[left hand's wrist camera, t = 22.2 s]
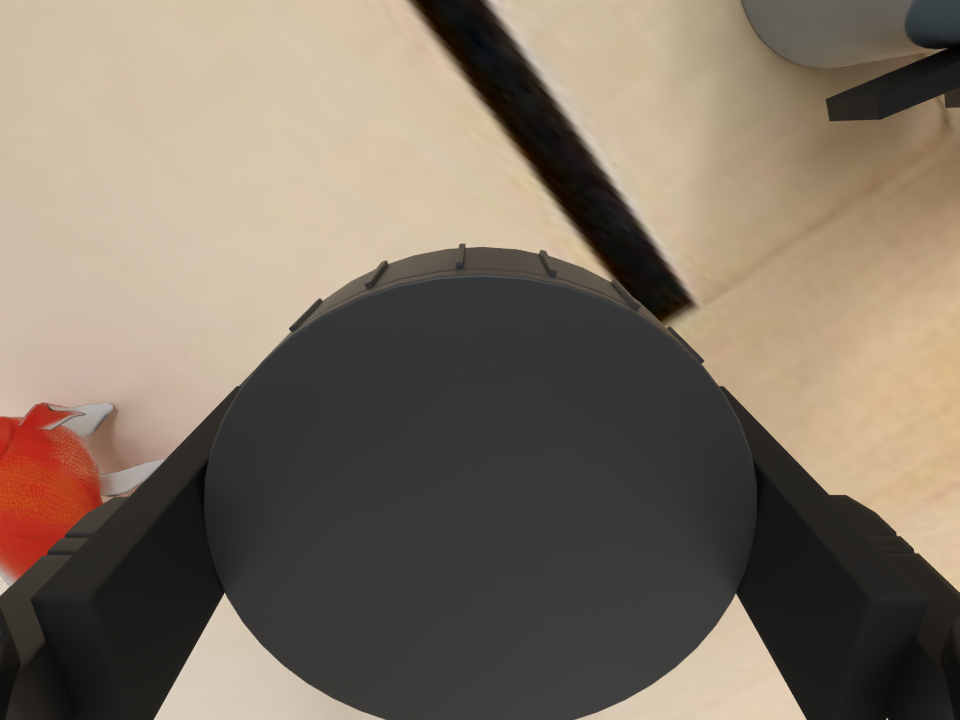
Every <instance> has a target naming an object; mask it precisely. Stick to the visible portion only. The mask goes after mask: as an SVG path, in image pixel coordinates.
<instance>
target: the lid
mask: <svg viewBox="0 0 960 720" xmlns="http://www.w3.org/2000/svg"><path fill="white" fill-rule="evenodd" d="M289 330H290V331H291V332H290V333H289V334H288V335H287V337H286V338H285V339H284V340H283V341H282V342H281V343H280V344H279V345H278V346H277V347H276V348H275V349H274V350H273V351H272V352H271V353H270V354H269V355H268V356H267V357H266V358H265V359H264V360H263V361H262V362H261V364H260V365H259V366H258V367H257V368H256V369H255V370H254V371H253V372H252V373H251V374H250V375H249V376H248V377H247V379H246V380H245V381H244V382H243V383H242V384H241V385H240V386H239V388H238V389H237V390H238V393H237V395H236V397H235V398H234V400H233V402H232V404H231V405H230V407H229V409H228V411H227V412H226V414H225V416H224V417H223V419H222V422H221V425H220V427H219V430H218V432H217V435H216V438H215V440H214V443H213V446H212V448H211V452H210V457H209V462H208V467H207V472H206V477H205V486H204V520H205V529H206V535H207V541H208V545H209V550H210V554H211V557H212V561H213V565H214V568H215V571H216V573H217V576H218V578H219V580H220V582H221V585H222V587H223V589H224V591H225V593H226V596H227V598H228V599H229V601H230V603H231V604H232V606H233V607H234V609H235V610H236V612H237V614H238V615H239V617H240V618H241V620H242V622H243V623H244V624H245V625H246V627H247V628H248V629H249V630H250V631H251V633H252V634H253V635H254V636H255V637H256V639H257V640H258V641H259V642H260V644H261V645H262V646H263V647H264V648H265V649H267V650H268V651H269V652H270V653H271V654H272V655H273V656H274V657H275V658H276V659H277V660H278V661H279V662H280V663H281V664H282V665H284V666H285V667H286V668H288V669H289V670H290V671H292V672H293V673H294V674H296V675H297V676H298V677H300V678H301V679H302V680H304V681H305V682H306V683H308V684H309V685H311V686H313V687H315V688H316V689H318V690H320V691H321V692H323V693H325V694H326V695H328V696H330V697H331V698H333V699H335V700H338V701H340V702H342V703H344V704H346V705H349V706H351V707H353V708H355V709H357V710H359V711H362V712H365V713H368V714H371V715H374V716H377V717H380V718H383V719H385V720H575V719H578V718H582V717H585V716H588V715H591V714H594V713H597V712H599V711H601V710H604V709H606V708H608V707H610V706H613V705H615V704H617V703H619V702H622V701H624V700H626V699H628V698H629V697H631V696H633V695H635V694H636V693H638V692H640V691H642V690H643V689H645V688H647V687H649V686H650V685H652V684H653V683H655V682H656V681H657V680H659V679H660V678H662V677H663V676H664V675H666V674H667V673H668V672H670V671H671V670H673V669H674V668H675V667H676V666H678V665H679V664H680V663H681V662H682V661H683V660H684V659H685V658H686V657H687V656H688V655H690V654H691V653H692V652H693V651H694V650H695V649H696V648H697V647H698V646H699V645H700V644H701V642H702V641H703V640H704V639H705V638H706V637H707V635H708V634H709V633H710V632H711V631H712V630H713V628H714V627H715V626H716V625H717V623H718V622H719V620H720V619H721V617H722V616H723V614H724V612H725V611H726V609H727V608H728V606H729V605H730V603H731V602H732V600H733V598H734V596H735V594H736V592H737V589H738V587H739V585H740V583H741V581H742V579H743V577H744V575H745V572H746V568H747V565H748V561H749V557H750V553H751V549H752V544H753V539H754V534H755V529H756V523H757V516H758V514H757V482H756V476H755V471H754V465H753V460H752V454H751V451H750V448H749V446H748V443H747V440H746V437H745V434H744V431H743V429H742V426H741V423H740V421H739V419H738V418H737V416H736V414H735V412H734V410H733V408H732V407H731V405H730V403H729V401H728V399H727V398H726V396H725V394H724V392H723V391H722V390H721V389H720V387H719V386H718V385H717V383H716V382H715V381H714V380H713V378H712V377H711V376H710V374H709V373H708V372H707V371H706V369H705V368H704V367H703V365H702V364H701V363H703V362H704V360H703V359H702V358H701V357H700V356H699V355H698V354H697V353H696V352H695V351H694V350H693V349H692V348H691V347H690V346H689V345H688V344H687V343H686V342H685V341H684V340H683V339H682V338H681V337H680V336H679V335H678V334H677V333H676V332H675V331H674V330H673V329H672V328H671V327H670V326H669V327H668V328H666V327H665V326H664V325H663V324H662V323H661V322H660V321H659V320H658V319H657V318H656V317H655V316H654V315H652V314H651V313H650V312H649V311H648V310H647V309H646V308H645V307H644V306H643V305H642V304H641V303H640V302H639V301H637V300H636V299H634V298H633V297H632V296H631V295H630V294H629V293H628V292H627V291H626V290H625V288H624V287H623V286H622V285H621V284H620V283H619V282H618V281H616V280H615V279H613V280H612V282H610V281H608V280H606V279H604V278H602V277H600V276H598V275H596V274H594V273H592V272H590V271H588V270H586V269H584V268H582V267H579V266H576V265H573V264H571V263H568V262H565V261H562V260H559V259H556V258H554V257H550V256H548V254H547V253H546V251H543V250H540V253H539V254H536V253H531V252H526V251H522V250H516V249H502V248H489V247H475V248H466V246H465V244H459V248H458V249H446V250H440V251H435V252H430V253H425V254H420V255H414V256H411V257H408V258H405V259H402V260H399V261H396V262H393V263H390V264H388V262H387V260H386V261H383V262H381V264H380V265H379V266H378V267H377V269H375V270H373V271H371V272H369V273H367V274H365V275H363V276H361V277H359V278H357V279H355V280H353V281H351V282H350V283H348V284H347V285H345V286H344V287H342V288H341V289H340V290H338V291H337V292H335V293H334V294H332V295H331V296H329V297H328V298H326V299H325V300H324V301H322V300H321V299H320V298H319V299H318V300H317V301H316V302H315V303H314V304H313V305H312V306H311V307H310V308H309V309H308V310H307V311H306V312H305V313H304V314H303V315H302V316H301V317H300V318H299V319H298V320H297V321H296V322H295V323H294V324H293V325H292V326H291V327H290V328H289Z"/></svg>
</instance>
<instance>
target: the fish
mask: <svg viewBox="0 0 960 720" xmlns="http://www.w3.org/2000/svg"><path fill="white" fill-rule="evenodd" d="M112 410H113V406H112V405H111V404H109V403H99V404H91V405H84V406H79V407H76V408H73V409H69V408H66V407H63V406H58V405H54V404H49V403H41V404H36V405H35V406H34V407H32V408H31V410H30V411H29V412H28V413H27V414H26V416H25V417H0V576H1V577H2V578H3V579H4V581H5V582H6V583H7V584H8V585H9V587H10V586H11V585H12V584H13V583H15V582H16V581H17V580H18V579H19V578H20V577H21V576H22V575H23V574H24V573H25V572H26V571H27V570H28V569H29V568H30V567H31V566H32V565H33V564H34V563H35V562H36V561H37V560H39V559H40V558H41V557H42V556H43V555H47V551H48V550H49V549H50V548H51V547H52V546H53V545H54V544H55V543H56V542H57V541H58V540H59V539H60V538H64V537H65V534H66V533H67V532H68V531H69V530H70V529H71V528H72V527H73V526H74V525H75V524H76V523H77V522H78V521H79V520H80V519H81V518H82V517H83V516H84V515H85V514H87V513H89V512H90V511H92V510H94V509H95V508H97V507H99V506H100V505H102V504H104V503H103V501H102V499H101V496H108V497H109V496H118V495H122V494H125V493H127V492H128V491H130V490H132V489H134V488H135V487H137V486H138V485H140V484H141V483H143V482H144V481H145V480H146V479H147V478H148V477H149V476H150V475H151V474H152V473H153V472H154V471H155V470H156V469H157V468H158V467H159V466H160V465H161V464H162V463H163V462H164V461H165V460H166V459H167V458H165V459H160V460H156V461H151V462H147V463H144V464H140V465H137V466H135V467H132V468H129V469H126V470H123V471H119V472H116V473H110V474H100V473H99V471H98V466H97V463H96V460H95V458H94V456H93V454H92V452H91V450H90V449H89V447H88V446H87V444H86V443H85V442H84V441H83V439H82V438H81V437H80V436H85V435H89V434H92V433H93V432H94V431H96V429H97V428H98V427H99V425H100V424H101V423H102V421H103V420H104V419H105V418H106V417H107V416H108V415H109V414H110V412H111V411H112Z"/></svg>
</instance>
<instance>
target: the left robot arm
mask: <svg viewBox="0 0 960 720" xmlns="http://www.w3.org/2000/svg"><path fill="white" fill-rule="evenodd" d="M719 387H720V389H721V390H722V391H723V392H724V394H725V396H726V398H727V399H728V401H729V403H730V405H731V407H732V408H733V410H734V412H735V414H736V416H737V418H738V419H739V421H740V423H741V426H742V429H743V431H744V434H745V437H746V440H747V443H748V446H749V448H750V451H751V454H752V460H753V465H754V471H755V476H756V482H757V514H758V516H757V523H756V529H755V534H754V539H753V544H752V549H751V553H750V557H749V561H748V565H747V568H746V572H745V575H744V577H743V579H742V581H741V583H740V585H739V587H738V589H737V592H736V594H737V596H738V598H739V599H740V601H741V603H742V605H743V607H744V608H745V610H746V612H747V614H748V615H749V617H750V619H751V621H752V623H753V624H754V626H755V628H756V630H757V632H758V633H759V635H760V637H761V639H762V641H763V642H764V644H765V646H766V648H767V649H768V651H769V653H770V655H771V657H772V658H773V660H774V662H775V664H776V666H777V667H778V669H779V671H780V673H781V674H782V676H783V678H784V680H785V682H786V683H787V685H788V687H789V689H790V691H791V692H792V694H793V696H794V698H795V700H796V701H797V703H798V705H799V707H800V708H801V710H802V712H803V714H804V716H805V717H806V719H807V720H886V719H887V718H888V720H960V593H959V592H958V591H957V590H956V589H955V588H954V587H953V586H952V585H951V584H950V583H949V582H948V581H947V580H946V579H945V578H944V577H943V576H942V575H941V574H940V573H938V572H937V571H936V570H935V569H934V568H933V567H932V566H931V565H930V564H929V563H928V562H927V561H926V560H925V559H924V558H923V557H922V556H921V555H920V554H919V553H914V549H913V548H912V547H911V546H910V545H909V544H908V543H907V542H906V541H905V540H904V539H903V538H902V537H901V536H897V535H896V532H895V531H894V530H893V529H892V528H891V527H890V526H889V525H888V524H887V523H886V522H885V521H884V520H883V519H882V518H881V517H880V516H879V515H878V514H877V513H875V512H874V511H872V510H871V509H869V508H867V507H865V506H864V505H862V504H860V503H859V502H857V501H855V500H854V499H852V498H850V497H848V496H847V495H829V494H828V493H827V492H826V491H825V490H824V489H823V488H822V487H821V486H820V485H819V484H818V483H817V482H816V481H815V480H814V479H813V478H812V477H811V476H810V475H809V474H808V473H807V472H806V471H805V470H804V469H803V468H802V466H801V465H800V464H799V463H798V462H797V461H796V460H795V459H794V458H793V457H792V456H791V455H790V454H789V453H788V452H787V451H786V450H785V449H784V448H783V447H782V446H781V445H780V444H779V443H778V442H777V441H776V440H775V439H774V438H773V437H772V436H771V435H770V434H769V433H768V432H767V431H766V429H765V428H764V427H763V426H762V425H761V424H760V423H759V422H758V421H757V420H756V419H755V418H754V417H753V416H752V415H751V414H750V413H749V412H748V411H747V410H746V409H745V408H744V407H743V406H742V405H741V404H740V403H739V402H738V401H737V400H736V399H735V398H734V397H733V396H732V395H731V393H730V392H729V391H728V390H727V389H726V388H725V387H724V386H719ZM238 388H239V386H237V387H236V388H235V389H234V390H233V391H232V392H231V393H230V394H229V395H228V396H227V397H226V398H225V399H224V400H223V401H222V402H221V403H220V404H219V405H218V406H217V407H216V408H215V409H214V410H213V411H212V412H211V413H210V414H209V415H208V417H207V418H206V419H205V420H204V421H203V422H202V423H201V424H200V425H199V426H198V427H197V428H196V429H195V430H194V431H193V432H192V433H191V434H190V435H189V436H188V437H187V438H186V439H185V440H184V441H183V442H182V443H181V444H180V445H179V446H178V447H177V448H176V449H175V450H174V451H173V453H172V454H171V455H170V456H169V457H168V458H167V459H166V460H165V461H164V462H163V463H162V464H161V465H160V466H159V467H158V468H157V469H156V470H155V471H154V472H153V473H152V474H151V475H150V476H149V477H148V478H147V479H146V480H145V481H144V482H143V483H142V484H141V485H140V486H139V487H138V489H137V490H136V491H135V492H134V493H133V494H132V495H131V496H130V497H114V498H112V499H111V500H109V501H107V502H106V503H104V504H102V505H100V506H99V507H97V508H95V509H94V510H92V511H90V512H89V513H87V514H85V515H84V516H83V517H82V518H81V519H80V520H79V521H78V522H77V523H76V524H75V525H74V526H73V527H72V528H71V529H70V530H69V531H68V532H67V533H66V534H65V537H64V538H60V539H59V540H58V541H57V542H56V543H55V544H54V545H53V546H52V547H51V548H50V549H49V550H48V551H47V555H43V556H42V557H41V558H40V559H39V560H37V561H36V562H35V563H34V564H33V565H32V566H31V567H30V568H29V569H28V570H27V571H26V572H25V573H24V574H23V575H22V576H21V577H20V578H19V579H18V580H17V581H16V582H15V583H13V584H12V585H11V586H10V587H9V588H8V589H7V590H6V591H5V592H4V593H3V594H2V595H1V596H0V720H154V718H155V716H156V714H157V713H158V711H159V709H160V707H161V706H162V704H163V702H164V700H165V698H166V697H167V695H168V693H169V691H170V689H171V688H172V686H173V684H174V682H175V681H176V679H177V677H178V675H179V673H180V672H181V670H182V668H183V666H184V664H185V663H186V661H187V659H188V657H189V655H190V654H191V652H192V650H193V648H194V647H195V645H196V643H197V641H198V639H199V638H200V636H201V634H202V632H203V630H204V629H205V627H206V625H207V623H208V622H209V620H210V618H211V616H212V614H213V613H214V611H215V609H216V607H217V605H218V604H219V602H220V600H221V598H222V596H223V595H224V593H225V591H224V589H223V587H222V585H221V582H220V580H219V578H218V576H217V573H216V571H215V568H214V565H213V561H212V557H211V554H210V550H209V545H208V541H207V535H206V529H205V520H204V486H205V477H206V472H207V467H208V462H209V457H210V452H211V448H212V446H213V443H214V440H215V438H216V435H217V432H218V430H219V427H220V425H221V422H222V419H223V417H224V416H225V414H226V412H227V411H228V409H229V407H230V405H231V404H232V402H233V400H234V398H235V397H236V395H237V393H238V390H237V389H238Z"/></svg>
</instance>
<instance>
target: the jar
mask: <svg viewBox="0 0 960 720" xmlns="http://www.w3.org/2000/svg"><path fill="white" fill-rule="evenodd" d="M742 2H743V5H744V8H745V11H746V14H747V16H748V18H749V20H750V22H751V24H752V26H753V28H754V29H755V31H756V32H757V34H758V35H759V36H760V38H761V39H762V40H763V41H764V42H765V43H766V44H767V45H768V46H769V47H770V48H771V49H772V50H773V51H775V52H776V53H777V54H779V55H780V56H781V57H783V58H785V59H787V60H789V61H791V62H793V63H796V64H800V65H803V66H806V67H813V68H838V67H845V66H851V65H856V64H862V63H868V62H873V61H879V60H885V59H890V58H896V57H902V56H907V55H913V54H919V53H924V52H930V51H936V50H941V49H947V48H953V47H958V46H960V0H742Z"/></svg>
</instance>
